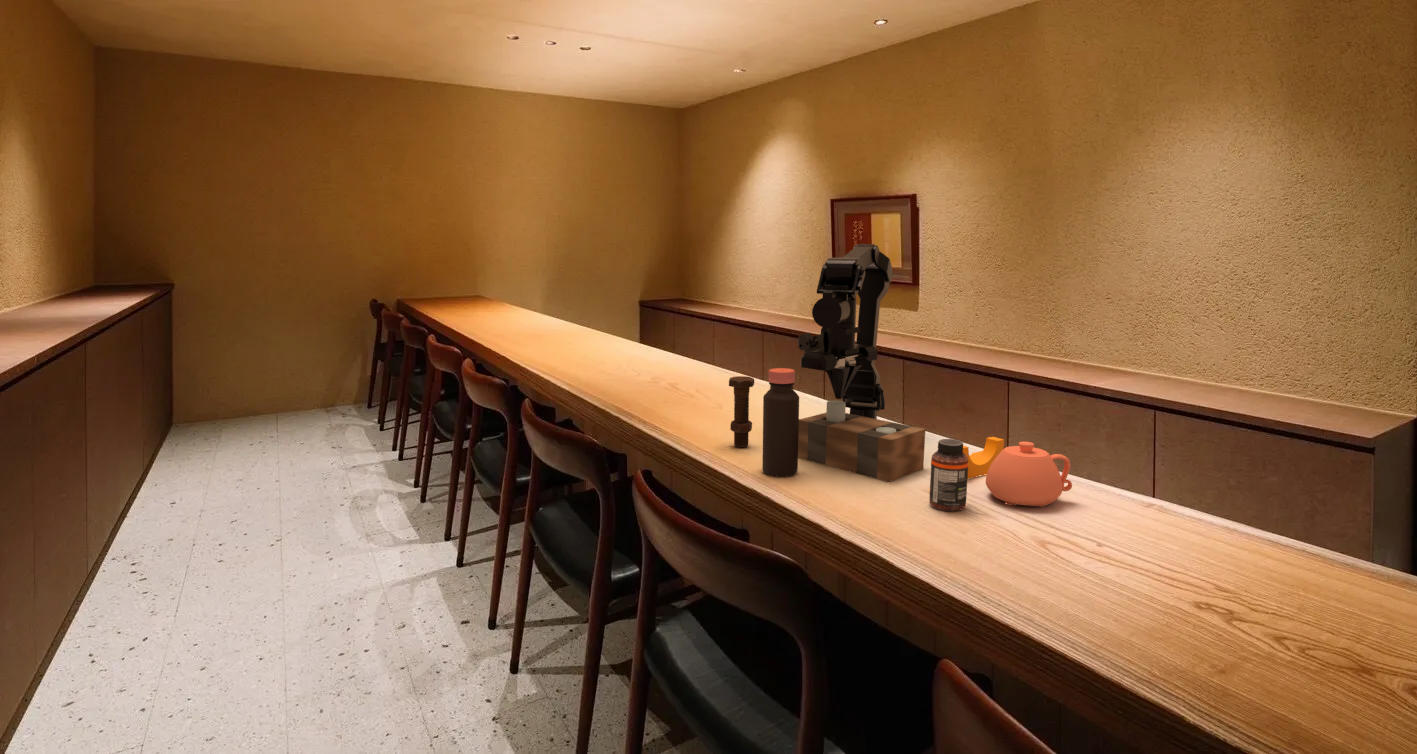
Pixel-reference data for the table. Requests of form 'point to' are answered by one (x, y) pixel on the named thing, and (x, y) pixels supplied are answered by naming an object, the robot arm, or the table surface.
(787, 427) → the dark brown bottle
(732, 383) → the bolt
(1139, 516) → the table surface
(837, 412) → the peg
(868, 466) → the socket block
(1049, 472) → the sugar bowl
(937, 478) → the supplement bottle
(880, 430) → the peg
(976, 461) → the orange tape dispenser
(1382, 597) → the table surface
